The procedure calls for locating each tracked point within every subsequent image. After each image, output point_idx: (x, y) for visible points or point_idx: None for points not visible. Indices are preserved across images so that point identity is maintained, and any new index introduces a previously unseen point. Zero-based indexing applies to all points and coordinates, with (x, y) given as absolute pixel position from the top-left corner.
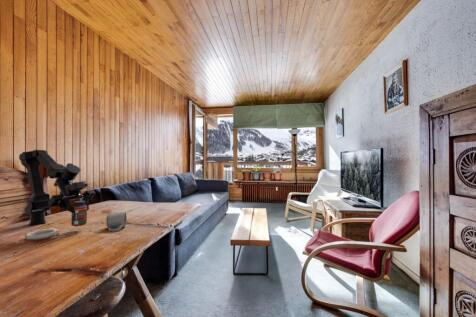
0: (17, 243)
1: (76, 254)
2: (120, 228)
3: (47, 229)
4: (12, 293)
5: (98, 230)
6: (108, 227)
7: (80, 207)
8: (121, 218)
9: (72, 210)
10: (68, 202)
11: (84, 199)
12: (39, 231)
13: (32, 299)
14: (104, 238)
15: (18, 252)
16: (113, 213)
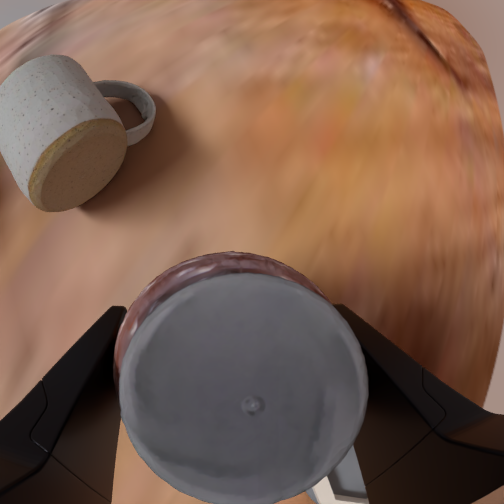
0: None
1: (392, 64)
2: (117, 91)
3: (334, 498)
4: (484, 69)
5: (157, 213)
6: (147, 125)
7: (286, 267)
8: (79, 66)
9: (365, 328)
10: (465, 424)
11: (50, 491)
12: (363, 501)
13: (463, 36)
14: (253, 73)
15: (490, 272)
16: (46, 109)
